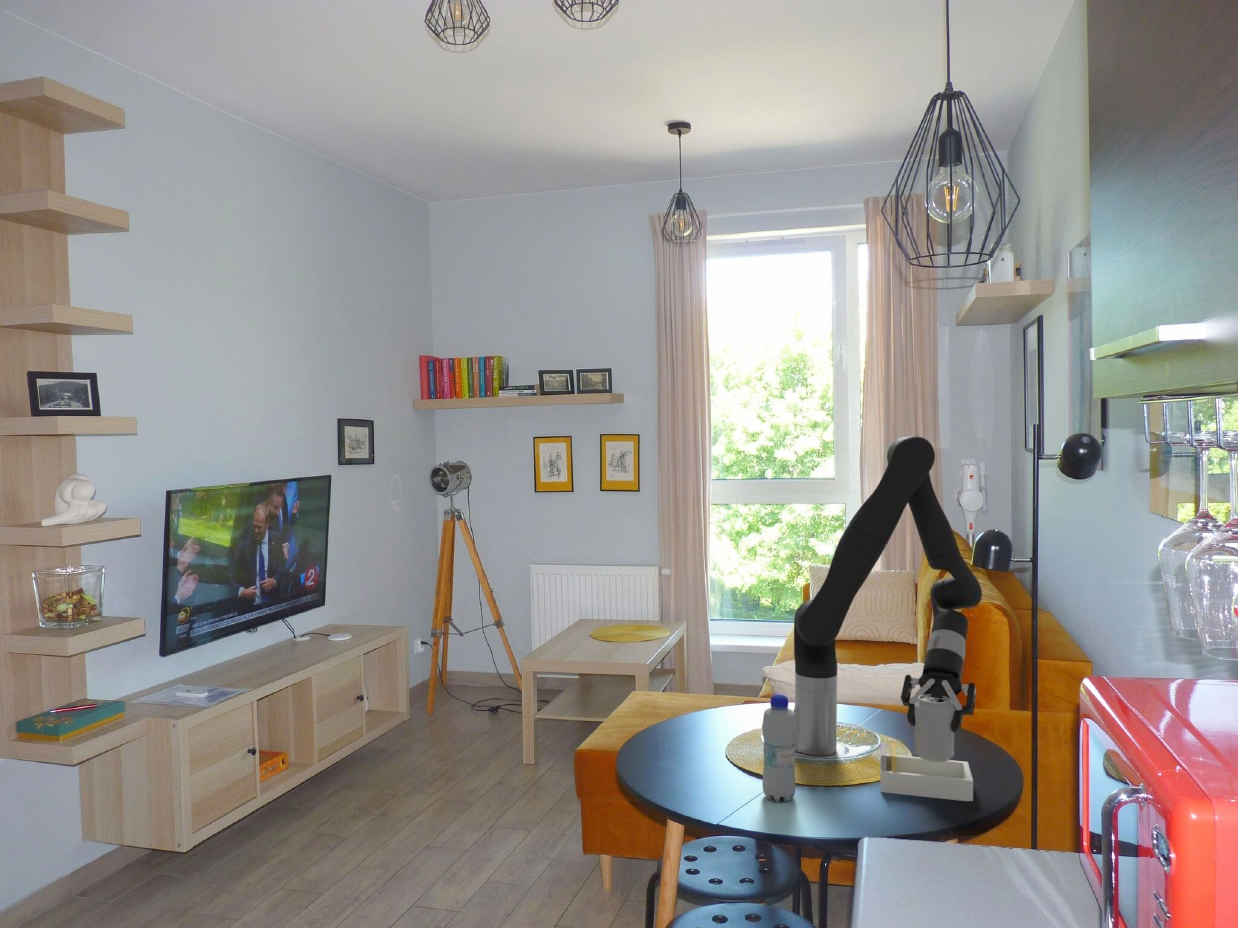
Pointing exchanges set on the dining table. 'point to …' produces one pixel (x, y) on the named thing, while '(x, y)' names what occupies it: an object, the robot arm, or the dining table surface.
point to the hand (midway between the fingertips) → (932, 727)
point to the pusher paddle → (893, 758)
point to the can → (934, 728)
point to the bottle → (779, 749)
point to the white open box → (926, 777)
